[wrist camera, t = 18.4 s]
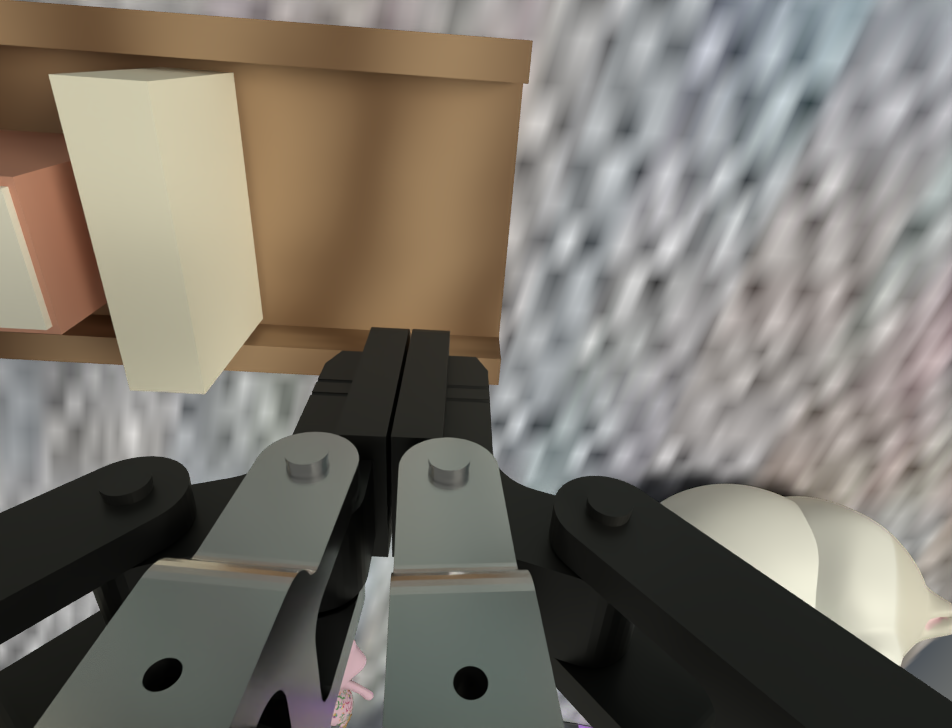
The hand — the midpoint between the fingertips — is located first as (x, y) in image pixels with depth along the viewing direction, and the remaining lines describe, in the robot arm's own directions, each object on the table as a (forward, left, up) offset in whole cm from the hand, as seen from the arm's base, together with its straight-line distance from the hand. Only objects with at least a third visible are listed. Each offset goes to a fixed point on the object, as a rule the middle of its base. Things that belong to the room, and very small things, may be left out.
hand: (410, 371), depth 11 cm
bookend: (-8, 0, -12) cm, 15 cm away
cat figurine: (+18, -16, -14) cm, 28 cm away
